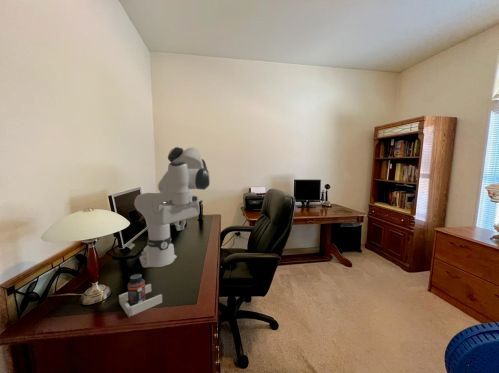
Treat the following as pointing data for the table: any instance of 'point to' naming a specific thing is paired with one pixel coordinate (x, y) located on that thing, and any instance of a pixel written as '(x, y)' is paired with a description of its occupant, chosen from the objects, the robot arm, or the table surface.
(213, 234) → the table surface
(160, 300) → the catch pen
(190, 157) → the robot arm
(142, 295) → the supplement bottle
